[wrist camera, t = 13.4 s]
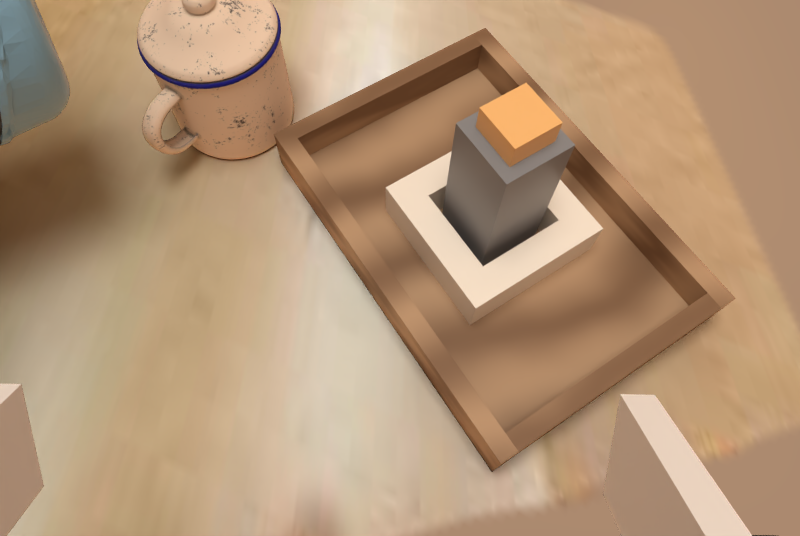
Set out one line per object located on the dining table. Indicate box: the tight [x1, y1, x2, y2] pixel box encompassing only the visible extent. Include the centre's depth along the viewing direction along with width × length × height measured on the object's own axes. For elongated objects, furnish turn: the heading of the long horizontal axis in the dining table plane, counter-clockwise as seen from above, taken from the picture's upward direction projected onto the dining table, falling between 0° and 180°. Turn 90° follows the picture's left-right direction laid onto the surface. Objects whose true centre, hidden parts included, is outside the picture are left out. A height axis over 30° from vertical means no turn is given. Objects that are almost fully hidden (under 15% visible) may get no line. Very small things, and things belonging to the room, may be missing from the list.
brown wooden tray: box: [274, 28, 735, 471], centre depth 43 cm, size 26×18×4 cm
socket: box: [386, 151, 603, 325], centre depth 42 cm, size 10×10×3 cm
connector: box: [442, 83, 575, 266], centre depth 38 cm, size 4×4×13 cm
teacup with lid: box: [137, 0, 294, 159], centre depth 43 cm, size 12×9×12 cm
